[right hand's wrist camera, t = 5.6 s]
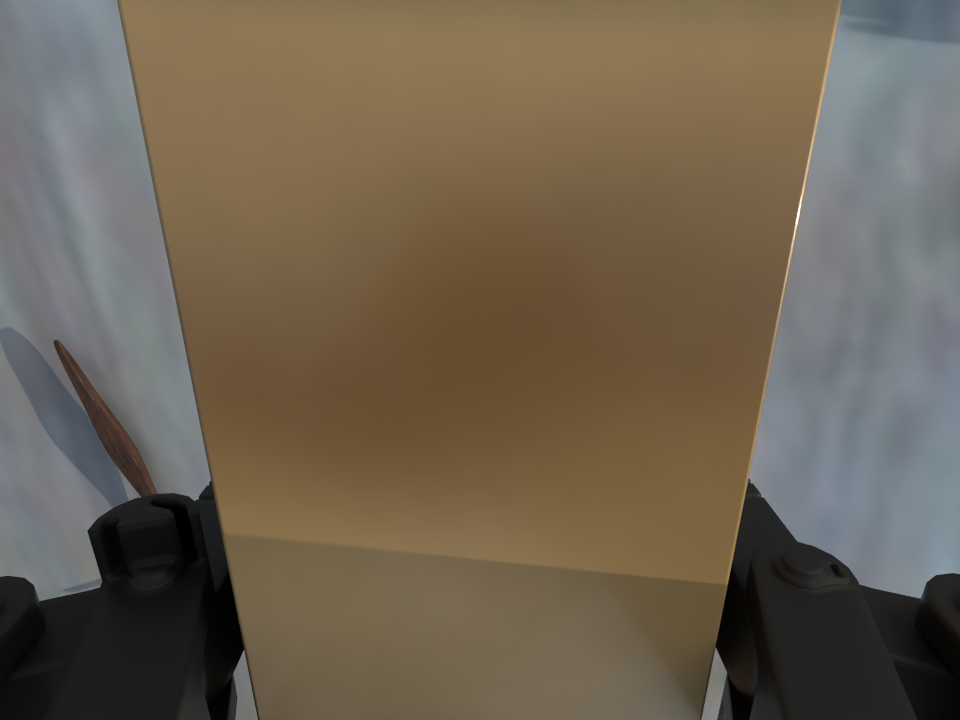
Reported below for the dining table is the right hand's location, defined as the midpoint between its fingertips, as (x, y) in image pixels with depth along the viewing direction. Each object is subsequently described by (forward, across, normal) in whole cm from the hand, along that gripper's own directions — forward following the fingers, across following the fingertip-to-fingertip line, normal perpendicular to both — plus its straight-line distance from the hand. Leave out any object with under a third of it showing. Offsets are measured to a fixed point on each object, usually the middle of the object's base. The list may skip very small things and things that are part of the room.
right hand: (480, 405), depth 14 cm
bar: (+1, 0, -9) cm, 9 cm away
